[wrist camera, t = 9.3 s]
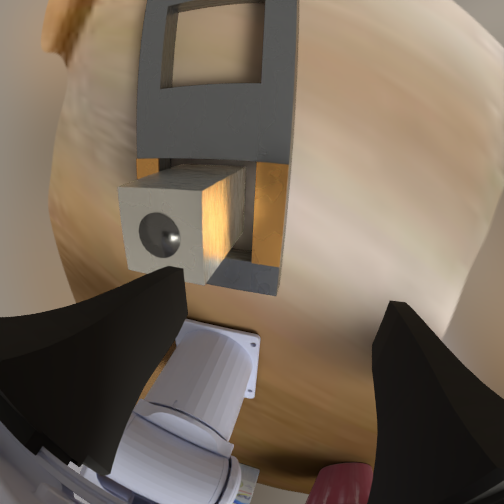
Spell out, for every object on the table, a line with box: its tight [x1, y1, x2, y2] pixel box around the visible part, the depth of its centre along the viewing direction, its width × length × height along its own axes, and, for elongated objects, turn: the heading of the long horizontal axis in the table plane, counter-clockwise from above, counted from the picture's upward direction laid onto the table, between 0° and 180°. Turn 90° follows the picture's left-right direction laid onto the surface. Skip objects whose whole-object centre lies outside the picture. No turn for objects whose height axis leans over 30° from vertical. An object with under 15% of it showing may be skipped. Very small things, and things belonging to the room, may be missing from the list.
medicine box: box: [232, 463, 260, 504], centre depth 36 cm, size 8×4×9 cm, turn 156°
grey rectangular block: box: [118, 164, 246, 286], centre depth 15 cm, size 4×4×7 cm
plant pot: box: [305, 462, 373, 504], centre depth 27 cm, size 14×14×13 cm
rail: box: [136, 0, 299, 296], centre depth 15 cm, size 22×10×2 cm, turn 177°
